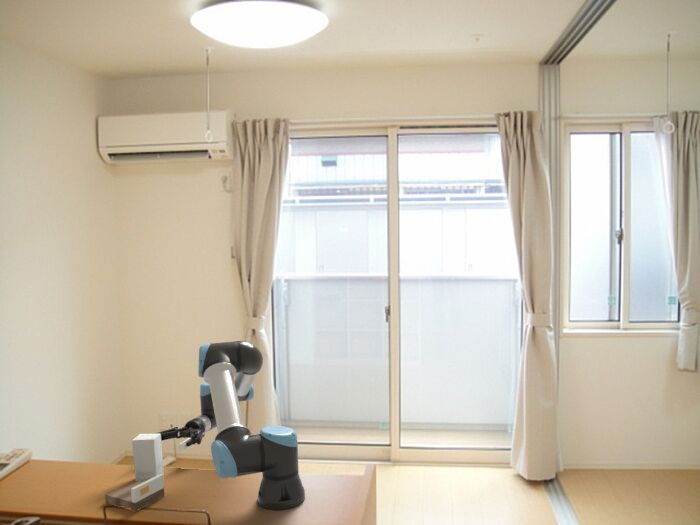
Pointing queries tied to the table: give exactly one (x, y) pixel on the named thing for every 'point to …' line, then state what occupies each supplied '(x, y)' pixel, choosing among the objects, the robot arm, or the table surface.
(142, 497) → the square wooden base
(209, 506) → the table surface
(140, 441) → the skincare box
